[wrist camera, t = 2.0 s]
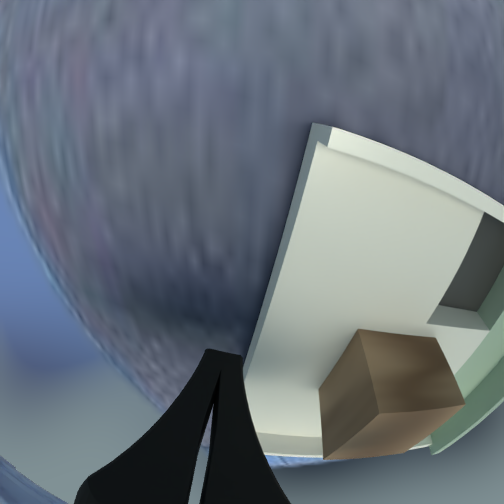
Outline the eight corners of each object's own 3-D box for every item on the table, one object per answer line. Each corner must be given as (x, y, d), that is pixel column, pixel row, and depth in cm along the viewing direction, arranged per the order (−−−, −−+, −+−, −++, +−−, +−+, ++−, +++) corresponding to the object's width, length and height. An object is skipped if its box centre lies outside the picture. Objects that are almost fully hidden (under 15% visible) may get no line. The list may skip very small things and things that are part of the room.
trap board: (551, 242, 9) (590, 278, 5) (427, 413, 18) (438, 453, 14) (312, 122, 9) (343, 129, 5) (230, 406, 17) (221, 461, 13)
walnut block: (435, 337, 10) (465, 404, 7) (390, 392, 12) (404, 452, 9) (357, 328, 10) (379, 413, 7) (318, 389, 12) (323, 459, 9)
